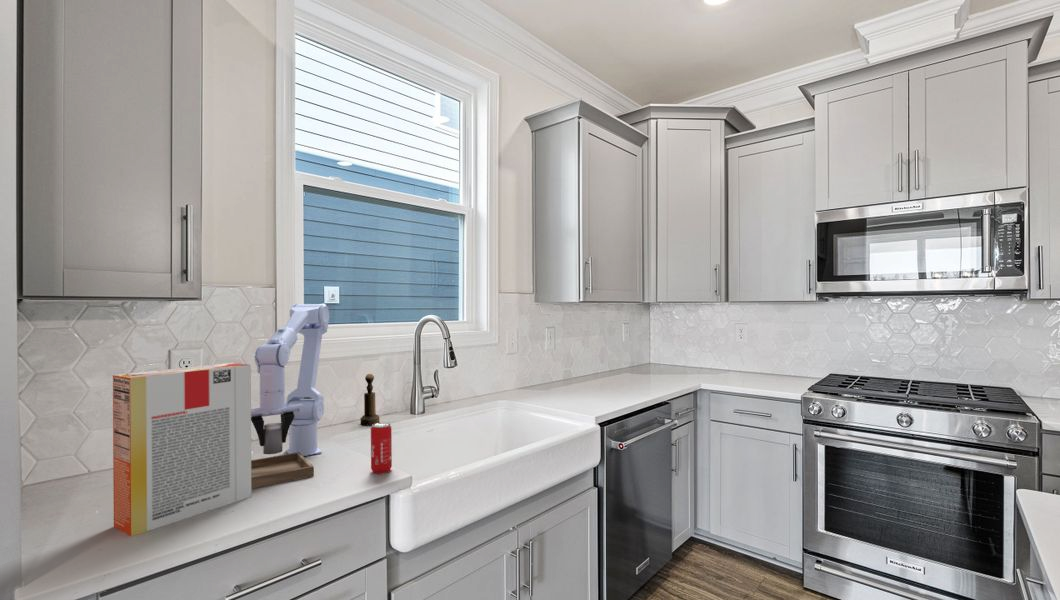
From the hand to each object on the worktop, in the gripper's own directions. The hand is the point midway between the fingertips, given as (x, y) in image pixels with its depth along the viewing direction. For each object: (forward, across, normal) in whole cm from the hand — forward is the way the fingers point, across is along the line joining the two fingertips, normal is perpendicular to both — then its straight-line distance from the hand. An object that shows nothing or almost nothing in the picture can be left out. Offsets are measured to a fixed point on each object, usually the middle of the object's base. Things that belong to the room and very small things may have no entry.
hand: (272, 443), depth 131 cm
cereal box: (+8, -19, -14) cm, 25 cm away
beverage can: (+8, +23, -15) cm, 29 cm away
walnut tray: (+8, 0, 0) cm, 8 cm away
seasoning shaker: (+2, 0, 0) cm, 2 cm away
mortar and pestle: (+8, +39, +39) cm, 56 cm away
